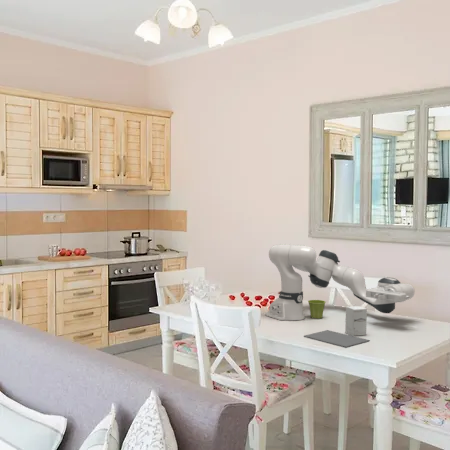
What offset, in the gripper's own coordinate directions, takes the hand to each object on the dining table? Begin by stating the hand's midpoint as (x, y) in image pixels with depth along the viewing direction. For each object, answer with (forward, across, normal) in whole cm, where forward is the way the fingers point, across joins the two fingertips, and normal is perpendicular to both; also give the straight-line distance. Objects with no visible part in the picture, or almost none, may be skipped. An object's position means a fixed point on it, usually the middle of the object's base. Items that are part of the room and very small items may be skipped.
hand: (376, 297), depth 268 cm
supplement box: (+16, 0, -16) cm, 22 cm away
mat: (+30, +1, -16) cm, 34 cm away
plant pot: (+2, +36, -16) cm, 39 cm away
